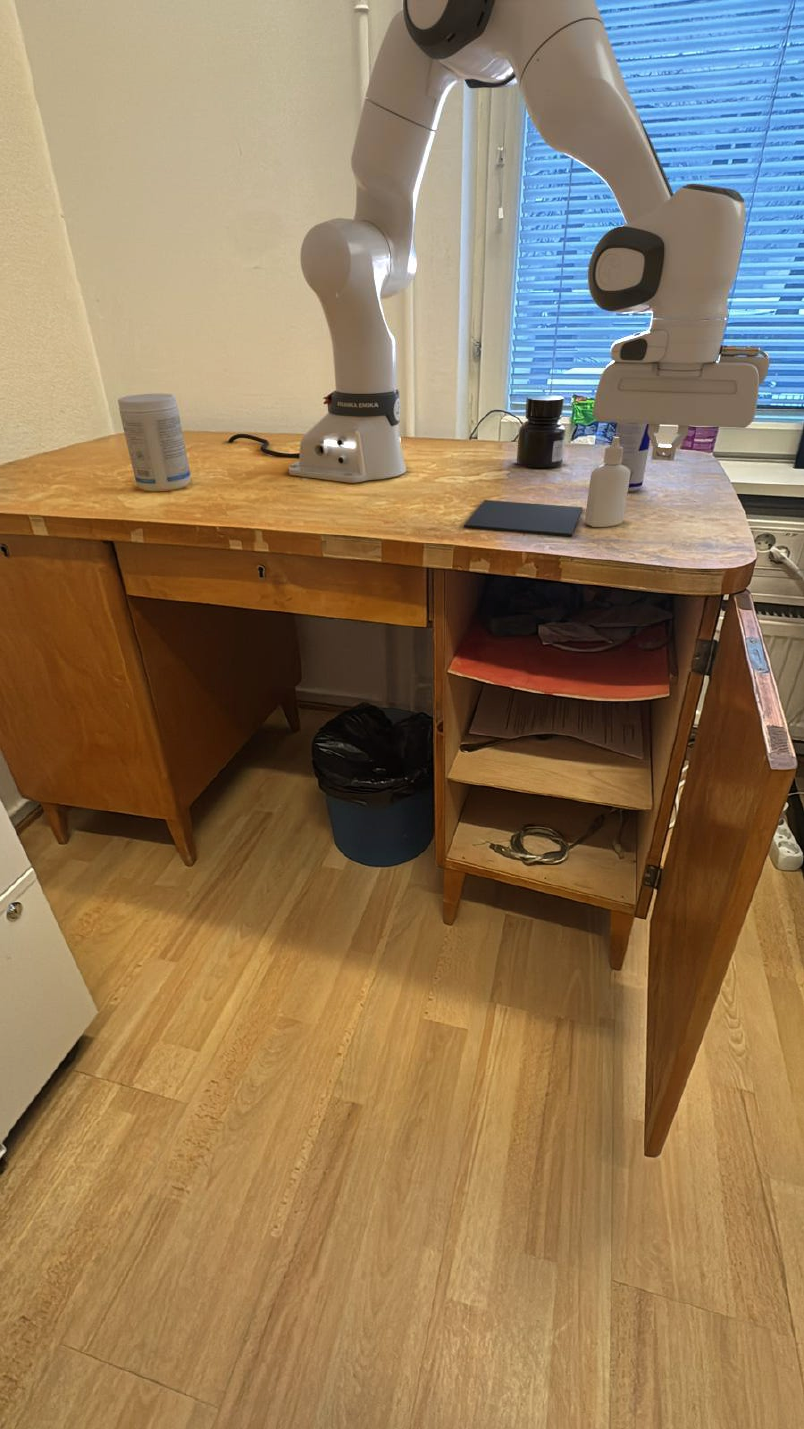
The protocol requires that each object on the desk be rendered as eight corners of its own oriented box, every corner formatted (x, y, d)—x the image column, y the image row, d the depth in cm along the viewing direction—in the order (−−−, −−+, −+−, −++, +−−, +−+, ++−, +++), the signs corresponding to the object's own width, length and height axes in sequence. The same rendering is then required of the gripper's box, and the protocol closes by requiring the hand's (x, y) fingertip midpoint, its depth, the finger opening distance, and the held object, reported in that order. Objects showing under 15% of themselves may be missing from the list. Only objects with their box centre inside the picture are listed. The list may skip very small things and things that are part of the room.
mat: (463, 527, 100) (463, 524, 100) (484, 502, 111) (484, 500, 111) (571, 536, 96) (572, 533, 96) (582, 509, 107) (582, 507, 107)
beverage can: (643, 493, 115) (660, 396, 107) (608, 492, 116) (622, 395, 108) (640, 485, 119) (656, 391, 111) (606, 484, 120) (620, 390, 112)
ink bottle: (566, 469, 130) (574, 400, 124) (519, 470, 130) (525, 401, 124) (557, 458, 138) (564, 393, 132) (513, 458, 138) (518, 394, 132)
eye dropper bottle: (582, 518, 103) (593, 434, 97) (621, 519, 102) (634, 434, 96) (585, 527, 99) (596, 440, 93) (625, 528, 99) (639, 440, 92)
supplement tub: (189, 477, 128) (174, 391, 120) (194, 489, 121) (179, 398, 113) (135, 482, 125) (116, 395, 118) (137, 495, 118) (117, 402, 110)
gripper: (770, 344, 86) (742, 459, 93) (603, 342, 91) (589, 450, 99) (777, 348, 81) (746, 469, 88) (599, 345, 86) (585, 459, 94)
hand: (662, 459), depth 94 cm, fingers closed
